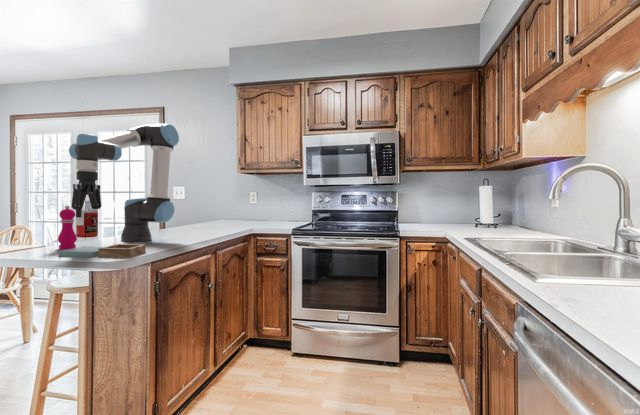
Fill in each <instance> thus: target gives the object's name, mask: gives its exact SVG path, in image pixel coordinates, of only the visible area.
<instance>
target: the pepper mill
mask: <svg viewBox="0 0 640 415" xmlns="http://www.w3.org/2000/svg"><path fill="white" fill-rule="evenodd" d="M59 218H61V219H60V223H61V225H62V226H61V230H60V233H59V234H58V236H57V237H58V238H57V242H58V243H59V245H58V249H59V250H68V249H73V248H77V247H76V246H77V245H76V242H77V240H78V237H77V236H76V231H75V230H74V227H73V224H74V223H75V219H74V218H76V211H75V210H74V209H71V208H70V205H65V206H64V209H62V210H60V211H59Z"/></svg>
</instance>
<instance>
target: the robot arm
mask: <svg viewBox="0 0 640 415" xmlns="http://www.w3.org/2000/svg"><path fill="white" fill-rule="evenodd" d="M179 137H180V136H179V132H178V130H177V129H176V127H175V126H174V125H173V124H170V123H155V124H153V123H152V124H149V123H148V124H143V125H140V126H136V127H132V128H128V129H127V130H126V131H125V132H121V133H117V134H113V135H109V136H106V137H101V138H99V137H98V136H97V135H95V134H90V133H78V135H77V136H76V143H72V144H71V145H70V146H69V148H68V154H69V156H71V158H72V159H74V160H76V170H77V171H76V180H78V183H74V184H72V189H73V191H72V199H71V208H72V210H74V211H75V226H76V225H84V211H85V209H83V208H84V203H85V202H86V198H87V196H88V200H89V204H90V206H91V208H90V209H89V211H98V212H99V210H100V209H101V208H102V199H101V198H102V197H101V185H100V184H96V181H98V180H99V178H98V177H99V176H98V174H99V173H98V172H97V171H98V168H99V167H98V166H99V164H98V162H99V160H100V161H101V160H102V161H103V160H104V161H105V160H106V161H118V160H120V159H121V157H122V155H123V154H122V150H123V149H126V148H130V147H132V148H133V147H134V148H136V147H139V146H140V147H141V146H142V147H143V146H149V147H150V149H151V150H152V165H151V180H150V192H149V193H150V194H149V195H148V196H147V197H141V198H130V199H126V200H125V201H124V206H123V208H124V227H123V230H122V233H121V235H120V242H128V243H129V242H130V243H132V242H134V243H135V242H139V243H140V242H147V241H152V233H151V230H150V227H149V223H160V224H161V223H167V222H169V221H170V220H171V219H172V218H173V216H174V214H175V205H174V203H173V202H172V201H171V197H169V195H168V194H169V193H168V192H169V176H170V164H171V163H170V160H171V153H172V152H173V151H174V148H175V146H177V145H178V143H179V140H180V138H179Z"/></svg>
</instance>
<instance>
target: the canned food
mask: <svg viewBox="0 0 640 415" xmlns="http://www.w3.org/2000/svg"><path fill="white" fill-rule="evenodd" d="M75 226H76V227H75V234H76V236H77V238H81V239H83V238H85V239H87V238H96V237H98V234H99V233H98V231H99V227H98V226H99V210H98V211H90V210H84V225H76V224H75Z"/></svg>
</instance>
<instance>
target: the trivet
mask: <svg viewBox="0 0 640 415" xmlns="http://www.w3.org/2000/svg"><path fill="white" fill-rule="evenodd" d="M102 247H103V246H85V245H84V246H78V247H76V248H73V249H62V250H58V257H70V258H71V257H72V258H74V257H77V258H95V257H99V248H102Z"/></svg>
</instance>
